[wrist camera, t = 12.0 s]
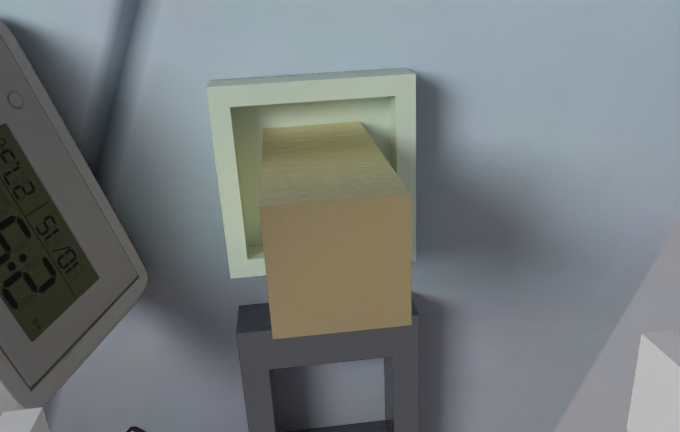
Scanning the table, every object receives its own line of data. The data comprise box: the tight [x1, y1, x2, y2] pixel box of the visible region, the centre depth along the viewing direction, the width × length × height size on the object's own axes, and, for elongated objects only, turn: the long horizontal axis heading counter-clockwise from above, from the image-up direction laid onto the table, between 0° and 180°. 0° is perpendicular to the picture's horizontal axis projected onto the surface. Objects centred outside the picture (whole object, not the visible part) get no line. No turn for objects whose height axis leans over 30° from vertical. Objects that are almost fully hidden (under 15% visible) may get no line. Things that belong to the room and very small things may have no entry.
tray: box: [206, 68, 416, 279], centre depth 31 cm, size 10×10×2 cm
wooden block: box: [259, 122, 412, 339], centre depth 26 cm, size 5×5×12 cm
